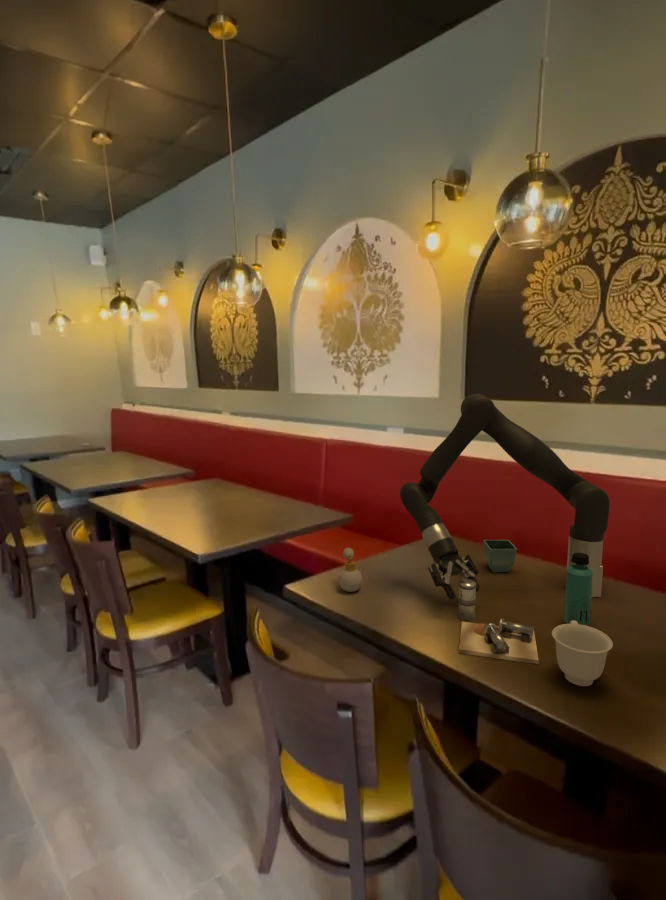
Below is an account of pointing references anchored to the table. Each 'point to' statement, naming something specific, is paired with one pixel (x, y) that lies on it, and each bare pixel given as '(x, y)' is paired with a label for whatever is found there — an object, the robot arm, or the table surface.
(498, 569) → the flower pot
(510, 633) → the shaft
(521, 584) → the table surface
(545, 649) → the table surface
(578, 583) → the beverage bottle
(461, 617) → the disc
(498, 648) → the shaft
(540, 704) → the table surface
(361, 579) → the perfume bottle
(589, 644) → the teacup
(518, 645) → the base board
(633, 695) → the table surface
